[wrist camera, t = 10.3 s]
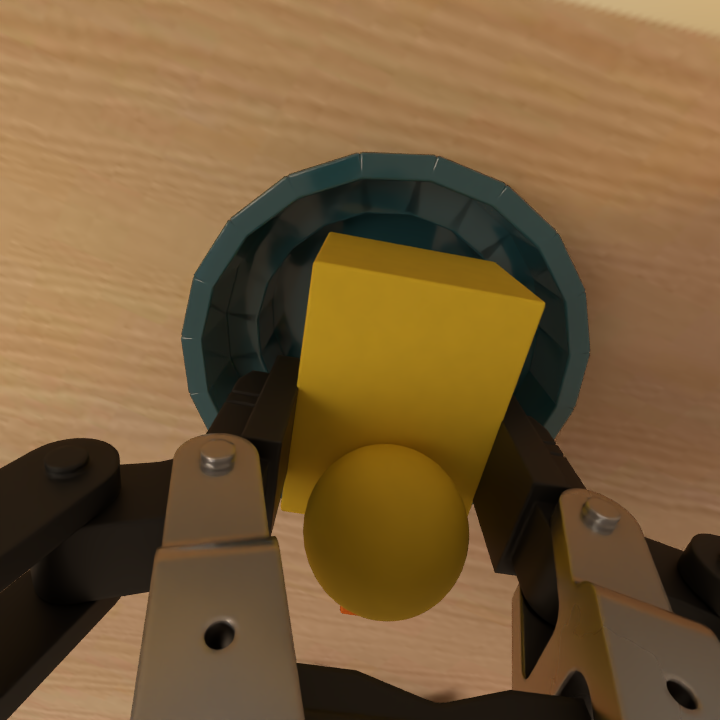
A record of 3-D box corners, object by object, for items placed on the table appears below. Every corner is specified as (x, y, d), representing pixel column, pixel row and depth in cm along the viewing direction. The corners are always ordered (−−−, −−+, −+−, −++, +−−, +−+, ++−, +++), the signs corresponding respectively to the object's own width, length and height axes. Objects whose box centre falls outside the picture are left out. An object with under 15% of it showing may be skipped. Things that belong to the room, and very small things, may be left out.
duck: (328, 230, 11) (283, 313, 5) (496, 261, 11) (640, 375, 5) (296, 458, 14) (243, 679, 8) (429, 478, 14) (474, 706, 8)
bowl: (186, 209, 16) (105, 231, 11) (502, 110, 15) (571, 84, 10) (292, 457, 21) (268, 551, 16) (540, 400, 19) (601, 485, 14)
